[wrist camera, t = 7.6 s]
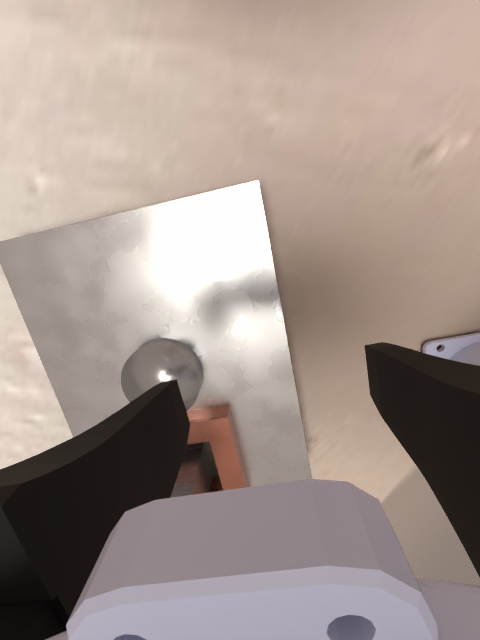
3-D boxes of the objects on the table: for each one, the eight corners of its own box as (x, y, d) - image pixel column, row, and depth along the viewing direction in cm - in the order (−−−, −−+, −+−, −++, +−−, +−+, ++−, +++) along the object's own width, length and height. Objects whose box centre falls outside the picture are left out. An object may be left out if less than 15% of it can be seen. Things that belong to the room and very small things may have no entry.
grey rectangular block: (210, 416, 23) (184, 524, 15) (218, 444, 24) (197, 563, 15) (178, 421, 24) (134, 530, 15) (186, 448, 24) (149, 568, 16)
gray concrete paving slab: (258, 186, 19) (258, 174, 15) (315, 504, 25) (326, 553, 21) (23, 242, 20) (-32, 244, 16) (135, 526, 27) (115, 574, 23)
